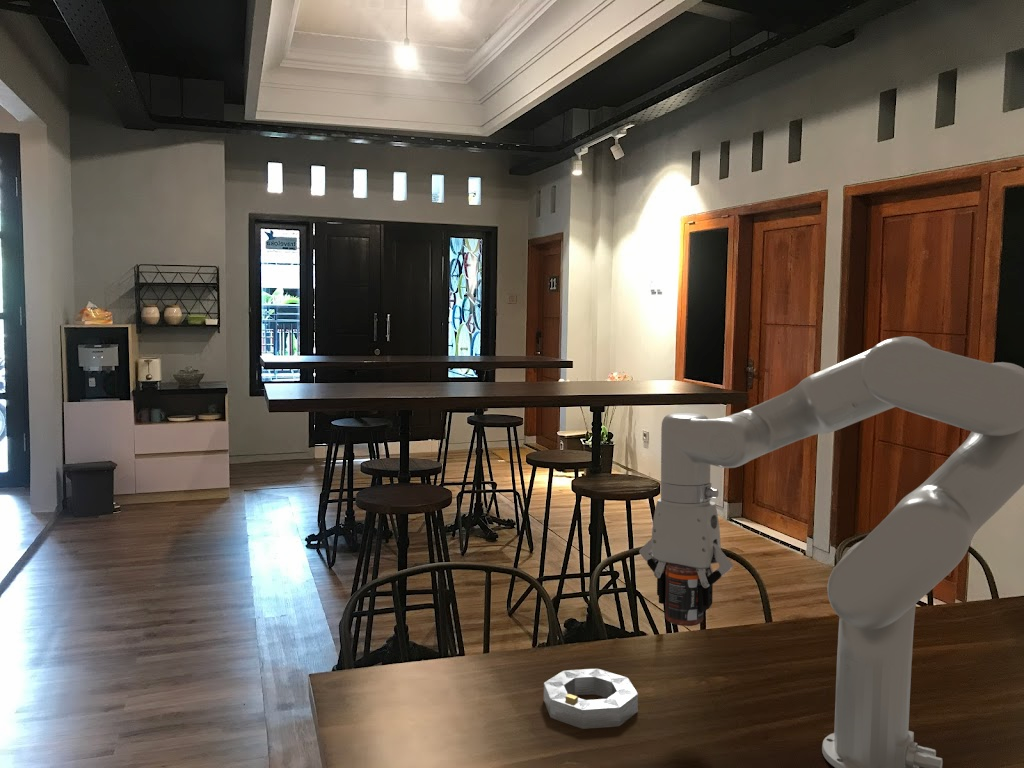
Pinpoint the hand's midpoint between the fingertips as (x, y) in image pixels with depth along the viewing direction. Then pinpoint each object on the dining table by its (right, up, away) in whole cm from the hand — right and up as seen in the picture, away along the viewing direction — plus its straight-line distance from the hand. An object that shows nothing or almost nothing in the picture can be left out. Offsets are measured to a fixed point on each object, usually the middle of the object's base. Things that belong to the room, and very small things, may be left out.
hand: (684, 604), depth 131 cm
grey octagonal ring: (-15, -17, +2) cm, 22 cm away
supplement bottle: (0, -3, 0) cm, 3 cm away
